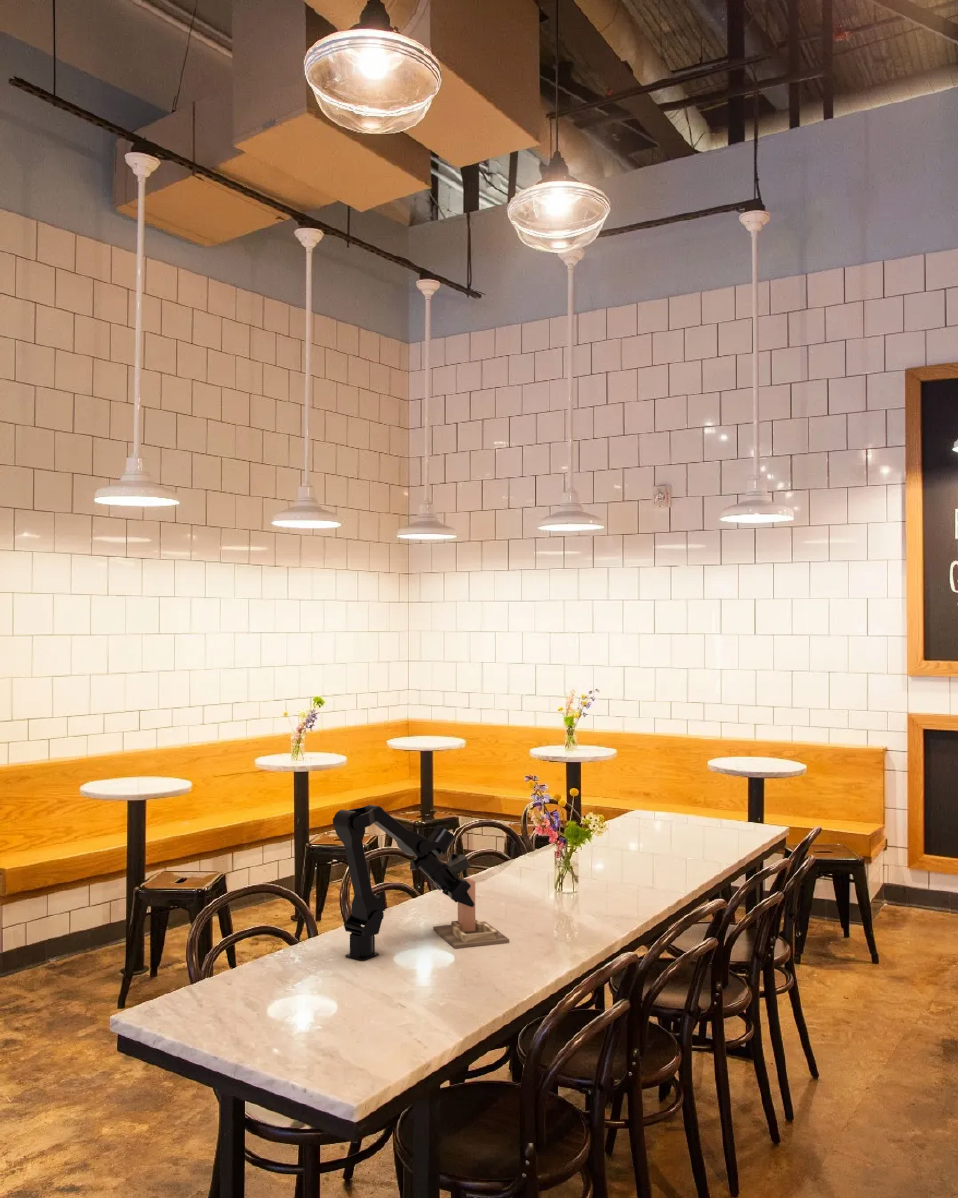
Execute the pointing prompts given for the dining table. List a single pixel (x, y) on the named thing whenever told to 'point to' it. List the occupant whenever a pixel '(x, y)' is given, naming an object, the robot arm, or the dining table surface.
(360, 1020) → the dining table surface
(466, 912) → the terracotta post
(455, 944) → the square socket board
